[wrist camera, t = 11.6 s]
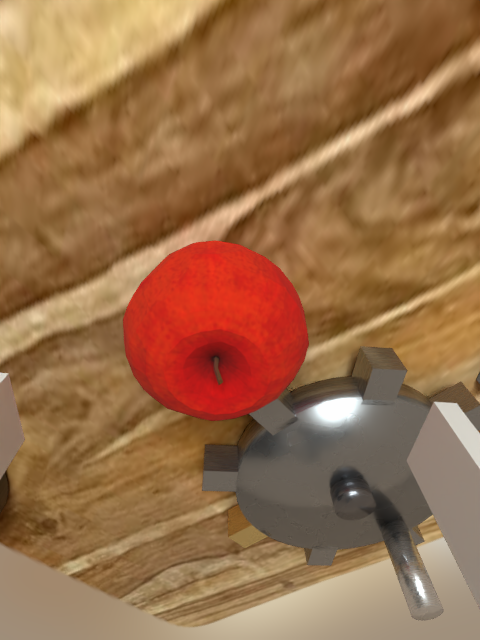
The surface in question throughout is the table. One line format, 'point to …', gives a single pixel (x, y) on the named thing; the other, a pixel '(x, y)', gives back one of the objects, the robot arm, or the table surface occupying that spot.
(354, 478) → the hub
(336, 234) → the table surface
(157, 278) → the apple
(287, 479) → the sprocket
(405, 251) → the table surface
